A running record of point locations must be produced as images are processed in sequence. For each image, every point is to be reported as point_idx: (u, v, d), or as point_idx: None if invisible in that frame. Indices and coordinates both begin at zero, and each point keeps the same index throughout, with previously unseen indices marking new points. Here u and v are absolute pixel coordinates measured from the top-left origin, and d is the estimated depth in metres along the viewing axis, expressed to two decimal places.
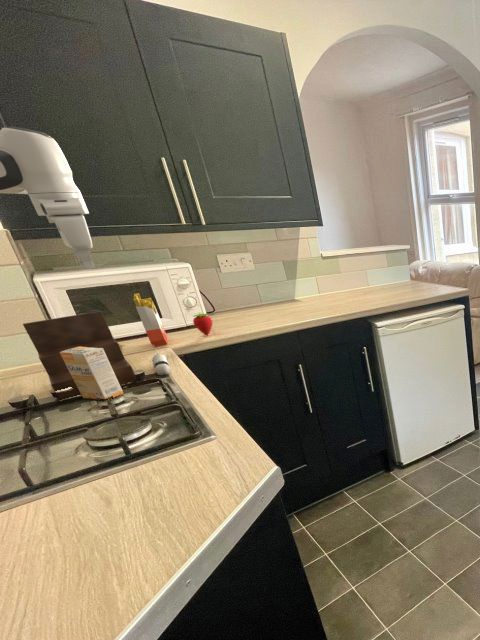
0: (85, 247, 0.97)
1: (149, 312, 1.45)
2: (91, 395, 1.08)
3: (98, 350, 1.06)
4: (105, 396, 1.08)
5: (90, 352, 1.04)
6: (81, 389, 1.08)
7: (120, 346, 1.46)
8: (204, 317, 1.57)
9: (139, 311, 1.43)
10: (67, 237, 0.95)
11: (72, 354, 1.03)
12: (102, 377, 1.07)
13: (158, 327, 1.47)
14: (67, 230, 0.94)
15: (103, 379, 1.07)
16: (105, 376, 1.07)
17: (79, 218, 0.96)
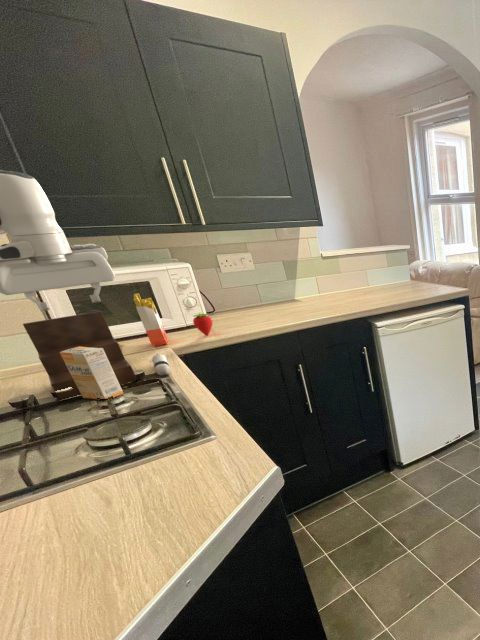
0: (3, 293, 0.94)
1: (149, 312, 1.45)
2: (91, 395, 1.08)
3: (98, 350, 1.06)
4: (105, 396, 1.08)
5: (90, 352, 1.04)
6: (81, 389, 1.08)
7: (120, 346, 1.46)
8: (204, 317, 1.57)
9: (139, 311, 1.43)
10: None
11: (72, 354, 1.03)
12: (102, 377, 1.07)
13: (158, 327, 1.47)
14: None
15: (103, 379, 1.07)
16: (105, 376, 1.07)
17: None
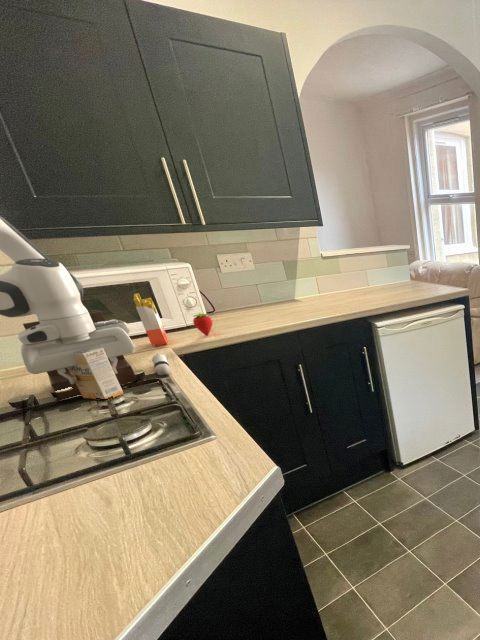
0: None
1: (149, 312, 1.45)
2: (91, 395, 1.08)
3: (98, 350, 1.06)
4: (105, 396, 1.08)
5: (90, 352, 1.04)
6: (81, 389, 1.08)
7: None
8: (204, 317, 1.57)
9: (139, 311, 1.43)
10: None
11: None
12: (102, 377, 1.07)
13: (158, 327, 1.47)
14: None
15: (103, 379, 1.07)
16: (105, 376, 1.07)
17: (22, 348, 0.97)
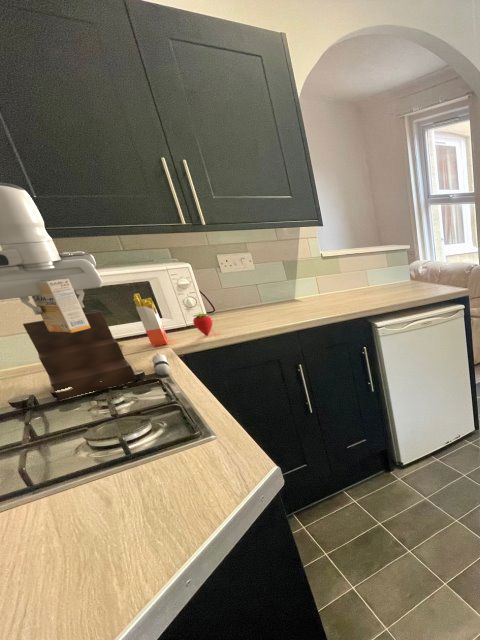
0: None
1: (149, 312, 1.45)
2: (57, 328, 1.07)
3: (63, 280, 1.04)
4: (71, 328, 1.06)
5: (54, 281, 1.03)
6: (47, 321, 1.07)
7: (120, 346, 1.46)
8: (204, 317, 1.57)
9: (139, 311, 1.43)
10: None
11: None
12: (67, 308, 1.05)
13: (158, 327, 1.47)
14: None
15: (69, 311, 1.06)
16: (71, 308, 1.06)
17: None
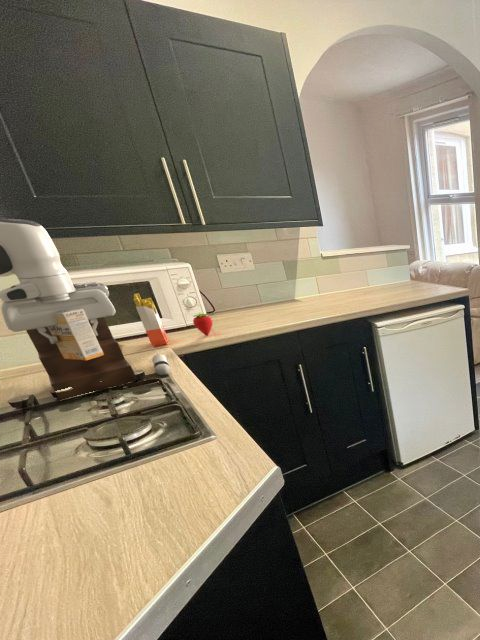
0: None
1: (149, 312, 1.45)
2: (72, 355, 1.11)
3: (78, 310, 1.08)
4: (85, 356, 1.10)
5: (70, 312, 1.07)
6: (62, 349, 1.11)
7: (120, 346, 1.46)
8: (204, 317, 1.57)
9: (139, 311, 1.43)
10: None
11: None
12: (82, 337, 1.10)
13: (158, 327, 1.47)
14: None
15: (83, 339, 1.10)
16: (85, 337, 1.10)
17: (2, 305, 1.00)
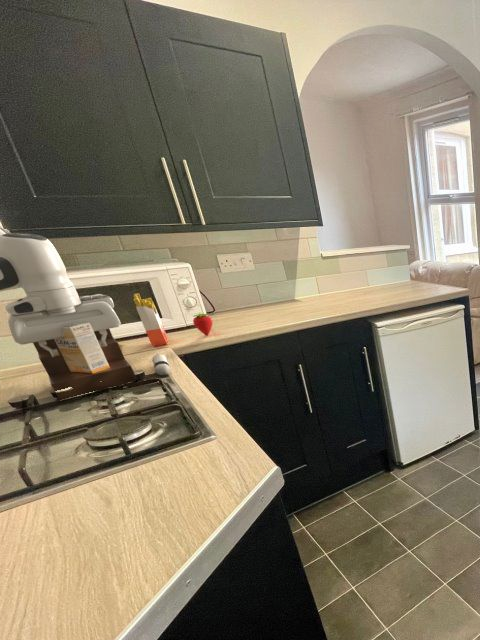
0: None
1: (149, 312, 1.45)
2: (79, 369, 1.13)
3: (85, 325, 1.10)
4: (92, 369, 1.12)
5: (77, 326, 1.08)
6: (69, 363, 1.13)
7: (120, 346, 1.46)
8: (204, 317, 1.57)
9: (139, 311, 1.43)
10: None
11: None
12: (89, 351, 1.11)
13: (158, 327, 1.47)
14: None
15: (90, 353, 1.11)
16: (92, 350, 1.12)
17: (9, 318, 1.01)
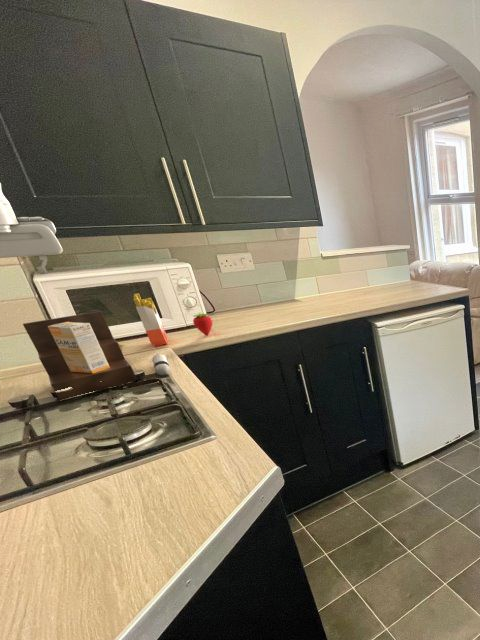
0: None
1: (149, 312, 1.45)
2: (79, 369, 1.13)
3: (85, 325, 1.10)
4: (92, 369, 1.12)
5: (77, 326, 1.08)
6: (69, 363, 1.13)
7: (120, 346, 1.46)
8: (204, 317, 1.57)
9: (139, 311, 1.43)
10: None
11: (60, 328, 1.08)
12: (89, 351, 1.11)
13: (158, 327, 1.47)
14: None
15: (90, 353, 1.11)
16: (92, 350, 1.12)
17: None
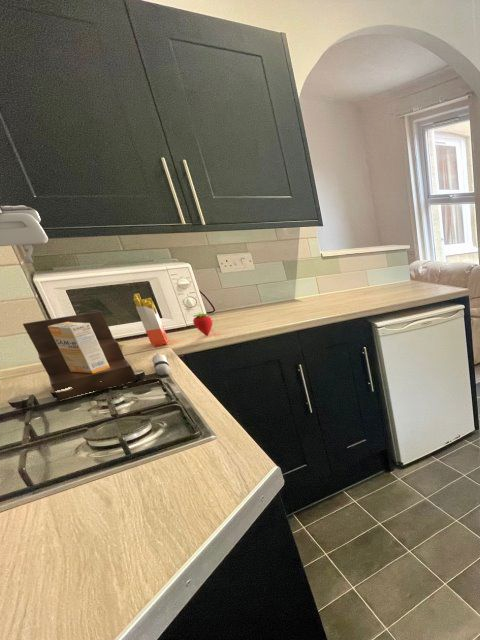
0: None
1: (149, 312, 1.45)
2: (79, 369, 1.13)
3: (85, 325, 1.10)
4: (92, 369, 1.12)
5: (77, 326, 1.08)
6: (69, 363, 1.13)
7: (120, 346, 1.46)
8: (204, 317, 1.57)
9: (139, 311, 1.43)
10: None
11: (60, 328, 1.08)
12: (89, 351, 1.11)
13: (158, 327, 1.47)
14: None
15: (90, 353, 1.11)
16: (92, 350, 1.12)
17: None
